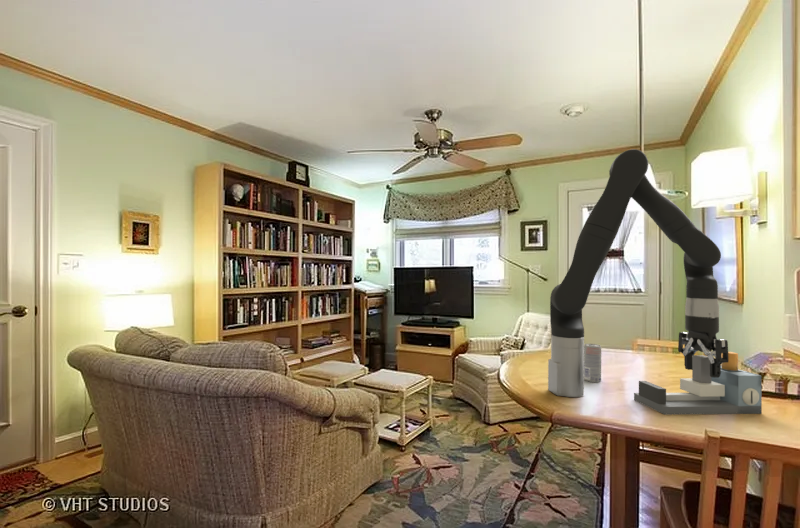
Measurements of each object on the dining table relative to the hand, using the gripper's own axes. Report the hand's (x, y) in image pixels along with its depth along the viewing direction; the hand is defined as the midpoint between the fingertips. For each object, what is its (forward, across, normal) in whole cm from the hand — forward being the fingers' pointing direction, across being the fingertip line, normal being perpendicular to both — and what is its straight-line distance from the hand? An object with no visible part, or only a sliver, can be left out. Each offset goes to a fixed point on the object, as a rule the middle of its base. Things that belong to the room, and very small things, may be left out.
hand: (701, 373), depth 111 cm
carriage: (+5, 0, 0) cm, 5 cm away
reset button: (-1, 0, +8) cm, 8 cm away
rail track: (+9, 0, -2) cm, 9 cm away
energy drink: (+9, -27, -16) cm, 33 cm away
